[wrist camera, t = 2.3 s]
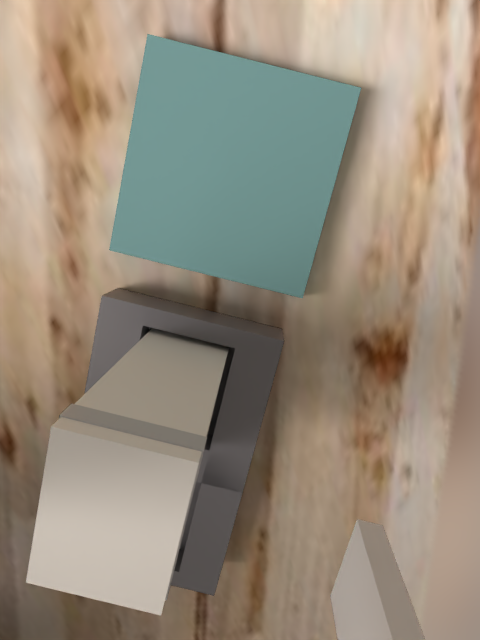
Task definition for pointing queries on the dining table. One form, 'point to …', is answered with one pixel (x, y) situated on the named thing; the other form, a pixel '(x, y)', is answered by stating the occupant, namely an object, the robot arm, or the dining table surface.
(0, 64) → the dining table surface
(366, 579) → the robot arm
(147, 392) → the block
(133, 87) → the dining table surface
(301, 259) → the pad
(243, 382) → the power strip
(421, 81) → the dining table surface
